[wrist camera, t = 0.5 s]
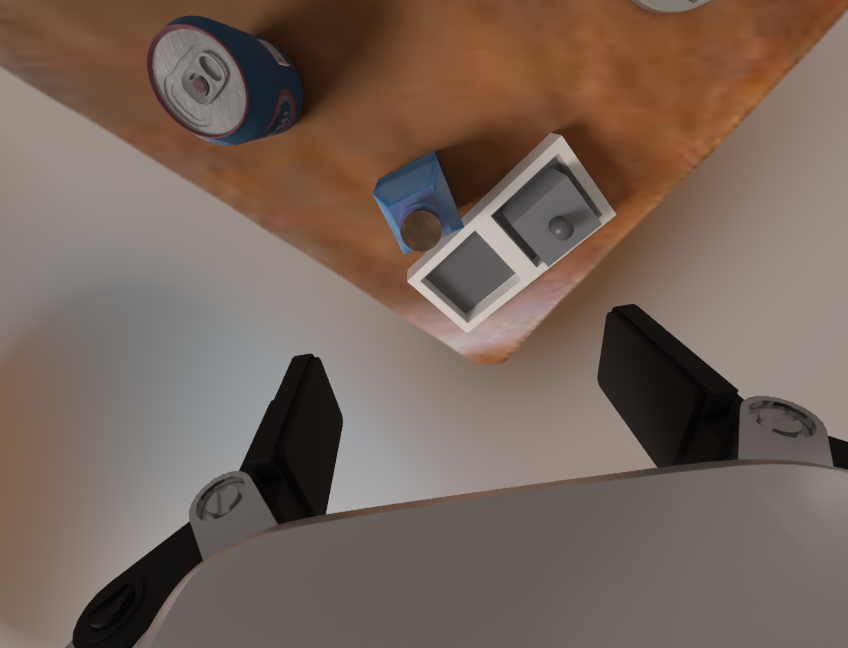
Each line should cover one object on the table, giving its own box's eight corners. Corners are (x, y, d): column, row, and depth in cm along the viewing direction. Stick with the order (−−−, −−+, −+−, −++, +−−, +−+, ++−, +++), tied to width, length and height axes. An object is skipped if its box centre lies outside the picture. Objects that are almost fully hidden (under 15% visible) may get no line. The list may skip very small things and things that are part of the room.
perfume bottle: (378, 179, 35) (364, 212, 25) (433, 151, 34) (442, 173, 24) (405, 233, 39) (402, 281, 29) (457, 209, 37) (473, 250, 27)
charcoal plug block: (548, 166, 34) (576, 180, 28) (580, 209, 37) (612, 231, 31) (500, 210, 36) (516, 232, 31) (533, 248, 39) (555, 275, 33)
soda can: (275, 149, 34) (216, 172, 24) (210, 83, 31) (111, 76, 21) (323, 94, 31) (280, 94, 21) (257, 16, 28) (173, -27, 18)
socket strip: (550, 132, 34) (561, 135, 31) (602, 206, 38) (616, 214, 35) (407, 270, 41) (407, 281, 38) (464, 319, 45) (467, 333, 42)
